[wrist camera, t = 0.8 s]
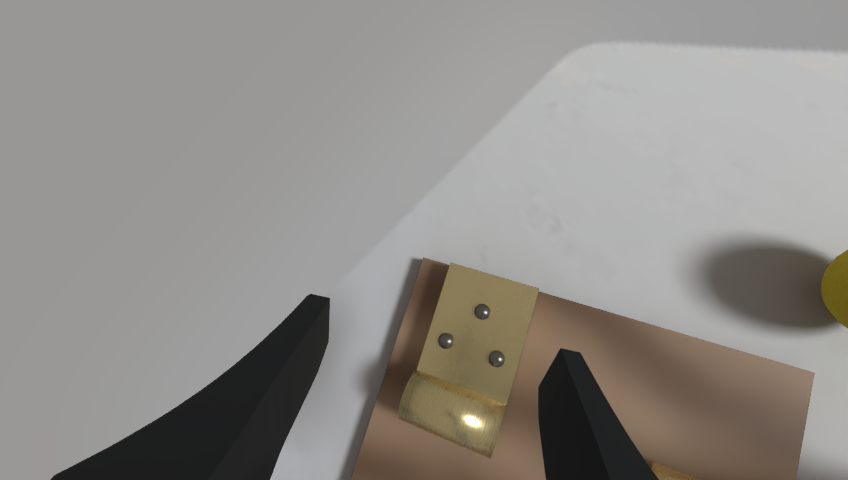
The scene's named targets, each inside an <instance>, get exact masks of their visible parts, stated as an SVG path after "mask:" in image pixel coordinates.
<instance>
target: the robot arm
mask: <svg viewBox="0 0 848 480" xmlns="http://www.w3.org/2000/svg"><path fill="white" fill-rule="evenodd" d="M329 309H330V298H327V297H322V296H317V295H313V294H310V295H308V296H306V298H305V299H304V300H303V301H302V302H301V303H300V304H299V305H298V306H297V308H295V310H294V311H293V312H292V313H291V314H290V315H289V316H288V317H287V318H286V319H285V320H284V321H283V322H282V323H281V324H280V325H279V326H278V327H277V328H276V329H275V330H273V331H272V332H271V333H270V334H269V335H268V336H267V337H266V338H265V339H264V340H263V341H262V342H260V343H259V344H258V345H257V346H256V347H255V348H254V349H253V350H252V351H250V352H249V353H248V354H247V355H246V356H244V357H243V358H242V359H241V360H240V361H239V362H237V363H236V364H235V365H234V366H232V367H231V368H230V369H229V370H227V371H226V372H225V373H223V374H222V375H221V376H220V377H218V378H217V379H216V380H214V381H213V382H212V383H210V384H209V385H207V386H206V387H205V388H203V389H202V390H201V391H199V392H198V393H196V394H195V395H193V396H192V397H191V398H189V399H187V400H186V401H184V402H183V403H182V404H180V405H179V406H177V407H176V408H174V409H173V410H171V411H170V412H168V413H166V414H165V415H163V416H162V417H160V418H158V419H157V420H155V421H153V422H152V423H150V424H148V425H147V426H145V427H143V428H142V429H140V430H138V431H136V432H135V433H133V434H131V435H130V436H128V437H126V438H124V439H123V440H121V441H119V442H118V443H116V444H114V445H112V446H110V447H108V448H107V449H105V450H103V451H101V452H99V453H97V454H95V455H93V456H91V457H89V458H87V459H85V460H83V461H81V462H79V463H78V464H76V465H74V466H72V467H70V468H68V469H66V470H64V471H62V472H60V473H58V474H56V475H55V476H53V478H52V479H51V480H270V478H271V475H272V473H273V470H274V467H275V465H276V462H277V459H278V457H279V454H280V452H281V449H282V447H283V445H284V442H285V440H286V438H287V436H288V434H289V432H290V429H291V427H292V425H293V423H294V421H295V419H296V417H297V415H298V413H299V411H300V409H301V406H302V404H303V402H304V400H305V398H306V396H307V394H308V392H309V390H310V387H311V385H312V383H313V381H314V379H315V377H316V375H317V373H318V370H319V367H320V364H321V361H322V359H323V356H324V353H325V350H326V347H327V344H328V338H329ZM538 420H539V429H540V437H541V445H542V453H543V461H544V469H545V476H546V480H659V479H658V478H657V476H656V475H655V474H654V472H653V471H652V470H651V468H650V467H649V465H648V464H647V462H646V461H645V460H644V458H643V457H642V455H641V454H640V452H639V451H638V449H637V448H636V446H635V445H634V443H633V442H632V440H631V438H630V437H629V435H628V434H627V432H626V431H625V429H624V427H623V426H622V424H621V422H620V421H619V419H618V417H617V416H616V414H615V412H614V411H613V409H612V407H611V406H610V404H609V402H608V401H607V399H606V397H605V395H604V394H603V392H602V390H601V388H600V387H599V385H598V383H597V381H596V379H595V378H594V376H593V374H592V372H591V370H590V369H589V367H588V365H587V363H586V362H585V360H584V358H583V356H582V355H581V353H580V352H577V351H572V350H567V349H563V348H560V350H559V351H558V353H557V355H556V357H555V358H554V360H553V362H552V364H551V366H550V367H549V369H548V371H547V373H546V374H545V376H544V378H543V380H542V381H541V383H540V385H539V387H538Z"/></svg>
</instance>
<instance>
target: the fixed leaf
mask: <svg viewBox="0 0 848 480" xmlns="http://www.w3.org/2000/svg"><path fill="white" fill-rule="evenodd" d="M648 465H649V467H650V468H651V470H652V471H653V472H654V474H655V475H656V476H657V478H658V479H659V480H701V479H698V478H696V477H693V476H690V475H688V474H685V473H683V472H680V471H677V470H675V469H672V468H670V467H667V466H664V465H662V464H659V463H657V462H654V461H650V462H649V463H648Z"/></svg>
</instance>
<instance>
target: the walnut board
mask: <svg viewBox="0 0 848 480" xmlns="http://www.w3.org/2000/svg"><path fill="white" fill-rule="evenodd" d="M449 266H450V265H447V264H444V263H440V262H437V261H433V260H430V259H427V258H423V260H422V263H421V266H420V269H419V272H418V275H417V278H416V281H415V284H414V287H413V290H412V293H411V297H410V300H409V303H408V306H407V309H406V312H405V315H404V318H403V321H402V324H401V327H400V330H399V333H398V336H397V339H396V342H395V345H394V348H393V351H392V354H391V358H390V361H389V364H388V367H387V370H386V373H385V376H384V379H383V382H382V385H381V388H380V391H379V394H378V397H377V400H376V403H375V406H374V409H373V412H372V416H371V419H370V422H369V425H368V428H367V431H366V434H365V437H364V440H363V443H362V446H361V449H360V452H359V455H358V458H357V461H356V464H355V467H354V470H353V473H352V477H351V480H546V476H545V469H544V461H543V453H542V445H541V437H540V429H539V420H538V387H539V385H540V383H541V381H542V380H543V378H544V376H545V374H546V373H547V371H548V369H549V367H550V366H551V364H552V362H553V360H554V358H555V357H556V355H557V353H558V351H559V350H560V348H563V349H567V350H572V351H577V352H580V353H581V355H582V356H583V358H584V360H585V362H586V363H587V365H588V367H589V369H590V370H591V372H592V374H593V376H594V378H595V379H596V381H597V383H598V385H599V387H600V388H601V390H602V392H603V394H604V395H605V397H606V399H607V401H608V402H609V404H610V406H611V407H612V409H613V411H614V412H615V414H616V416H617V417H618V419H619V421H620V422H621V424H622V426H623V427H624V429H625V431H626V432H627V434H628V435H629V437H630V438H631V440H632V442H633V443H634V445H635V446H636V448H637V449H638V451H639V452H640V454H641V455H642V457H643V458H644V460H645V461H646V462H647V464H648V463H649V462H650V461H654V462H657V463H659V464H662V465H664V466H667V467H670V468H672V469H675V470H677V471H680V472H683V473H685V474H688V475H690V476H693V477H696V478H698V479H701V480H796V475H797V470H798V464H799V458H800V453H801V447H802V441H803V436H804V430H805V424H806V419H807V413H808V407H809V402H810V396H811V390H812V385H813V379H814V373H813V372H810V371H806V370H803V369H800V368H796V367H793V366H790V365H786V364H783V363H779V362H776V361H773V360H769V359H766V358H762V357H759V356H756V355H752V354H749V353H745V352H742V351H739V350H735V349H732V348H728V347H725V346H722V345H718V344H715V343H712V342H708V341H705V340H701V339H698V338H695V337H691V336H688V335H684V334H681V333H678V332H674V331H671V330H667V329H664V328H661V327H657V326H654V325H650V324H647V323H644V322H640V321H637V320H634V319H630V318H627V317H623V316H620V315H617V314H613V313H610V312H606V311H603V310H600V309H596V308H593V307H589V306H586V305H583V304H579V303H576V302H573V301H569V300H566V299H562V298H559V297H556V296H552V295H549V294H545V293H542V292H538V295H537V299H536V302H535V306H534V309H533V313H532V317H531V320H530V324H529V327H528V331H527V334H526V338H525V341H524V345H523V349H522V352H521V356H520V359H519V363H518V366H517V370H516V373H515V377H514V380H513V384H512V388H511V391H510V395H509V398H508V402H507V405H506V409H505V412H504V416H503V419H502V423H501V427H500V430H499V434H498V437H497V441H496V444H495V448H494V451H493V455H492V458H491V459H489V458H487V457H485V456H483V455H480V454H478V453H476V452H473V451H471V450H469V449H466V448H464V447H462V446H459V445H457V444H455V443H452V442H450V441H448V440H446V439H443V438H441V437H439V436H436V435H434V434H432V433H429V432H427V431H425V430H422V429H420V428H418V427H416V426H413V425H411V424H409V423H406V422H404V421H402V420H399V419H398V410H399V405H400V401H401V398H402V395H403V392H404V390H405V387H406V385H407V383H408V381H409V379H410V377H411V375H412V374H413V373H414V371H416V370H417V367H418V364H419V361H420V358H421V354H422V351H423V348H424V345H425V342H426V339H427V335H428V332H429V329H430V326H431V323H432V320H433V317H434V313H435V310H436V307H437V304H438V301H439V298H440V294H441V291H442V288H443V285H444V282H445V279H446V276H447V272H448V269H449Z"/></svg>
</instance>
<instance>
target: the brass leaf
mask: <svg viewBox="0 0 848 480" xmlns="http://www.w3.org/2000/svg"><path fill="white" fill-rule="evenodd" d="M538 292H539V288H536V287H532V286H529V285H525V284H522V283H518V282H515V281H512V280H508V279H505V278H501V277H498V276H495V275H491V274H488V273H484V272H481V271H477V270H474V269H471V268H467V267H464V266H460V265H457V264H453V263H450V266H449V269H448V272H447V276H446V279H445V282H444V285H443V288H442V291H441V294H440V298H439V301H438V304H437V307H436V310H435V313H434V317H433V320H432V323H431V326H430V329H429V332H428V335H427V339H426V342H425V345H424V348H423V351H422V354H421V358H420V361H419V364H418V367H417V370H416V371H414V373H413V374H412V375H411V377H410V379H409V381H408V383H407V385H406V387H405V390H404V392H403V395H402V398H401V401H400V405H399V410H398V419H399V420H402V421H404V422H406V423H409V424H411V425H413V426H416V427H418V428H420V429H422V430H425V431H427V432H429V433H432V434H434V435H436V436H439V437H441V438H443V439H446V440H448V441H450V442H452V443H455V444H457V445H459V446H462V447H464V448H466V449H469V450H471V451H473V452H476V453H478V454H480V455H483V456H485V457H487V458H489V459H491V458H492V455H493V451H494V448H495V444H496V441H497V437H498V434H499V430H500V427H501V423H502V419H503V416H504V412H505V409H506V405H507V402H508V398H509V395H510V391H511V388H512V384H513V380H514V377H515V373H516V370H517V366H518V363H519V359H520V356H521V352H522V349H523V345H524V341H525V338H526V334H527V331H528V327H529V324H530V320H531V317H532V313H533V309H534V306H535V302H536V299H537V295H538Z"/></svg>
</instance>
